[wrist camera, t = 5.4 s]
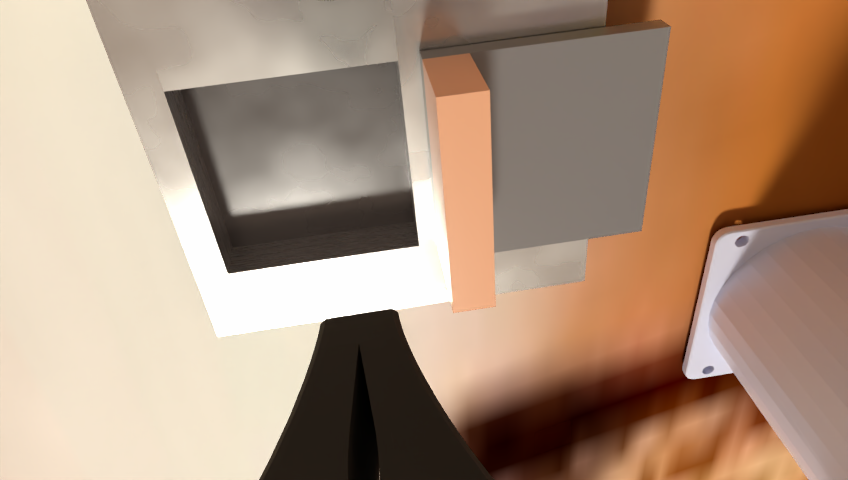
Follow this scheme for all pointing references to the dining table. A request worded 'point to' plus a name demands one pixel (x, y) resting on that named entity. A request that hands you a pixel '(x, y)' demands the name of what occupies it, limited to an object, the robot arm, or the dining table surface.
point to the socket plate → (310, 145)
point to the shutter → (538, 144)
